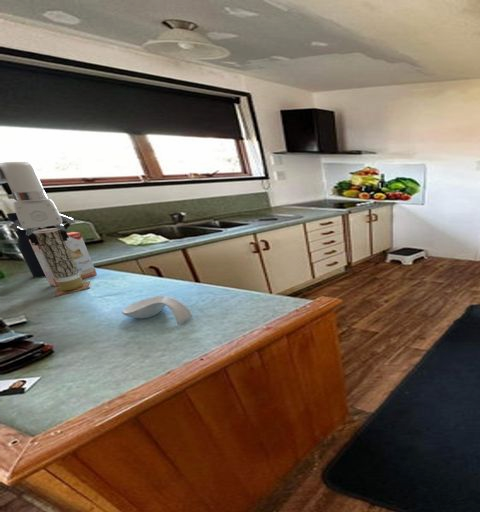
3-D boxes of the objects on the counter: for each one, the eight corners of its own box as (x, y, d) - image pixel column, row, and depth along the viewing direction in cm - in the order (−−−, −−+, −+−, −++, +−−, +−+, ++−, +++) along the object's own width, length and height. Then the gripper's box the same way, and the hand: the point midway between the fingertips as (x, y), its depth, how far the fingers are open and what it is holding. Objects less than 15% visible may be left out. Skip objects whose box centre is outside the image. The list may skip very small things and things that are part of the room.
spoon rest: (116, 320, 89) (108, 301, 87) (154, 303, 99) (148, 285, 97) (168, 331, 82) (161, 310, 80) (203, 311, 93) (198, 292, 90)
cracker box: (57, 287, 116) (35, 240, 109) (49, 285, 118) (27, 239, 111) (98, 274, 129) (80, 232, 122) (90, 273, 131) (72, 231, 124)
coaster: (54, 296, 107) (53, 295, 107) (56, 289, 114) (56, 288, 114) (90, 288, 114) (89, 287, 114) (90, 281, 121) (90, 280, 121)
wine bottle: (34, 278, 126) (2, 215, 116) (32, 275, 130) (0, 213, 120) (55, 273, 131) (25, 212, 121) (52, 271, 135) (23, 211, 125)
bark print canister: (65, 292, 110) (37, 232, 101) (57, 290, 112) (29, 231, 104) (87, 285, 116) (63, 228, 107) (79, 283, 118) (54, 227, 110)
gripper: (-11, 200, 93) (15, 249, 99) (64, 194, 105) (83, 239, 111) (-5, 198, 98) (18, 245, 104) (66, 193, 110) (83, 236, 116)
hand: (51, 242), depth 107 cm, fingers closed on bark print canister, 6 cm apart
